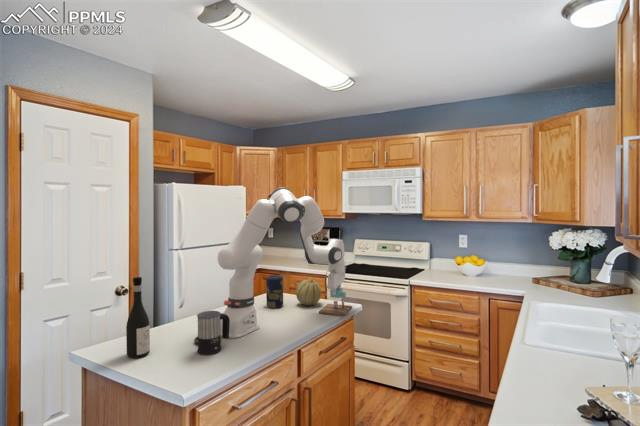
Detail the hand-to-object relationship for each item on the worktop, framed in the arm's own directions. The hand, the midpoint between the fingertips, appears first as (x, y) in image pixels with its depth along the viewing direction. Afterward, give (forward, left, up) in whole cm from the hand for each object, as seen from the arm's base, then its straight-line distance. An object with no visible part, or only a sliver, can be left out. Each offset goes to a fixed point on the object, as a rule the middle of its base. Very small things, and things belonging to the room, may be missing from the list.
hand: (336, 293), depth 201 cm
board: (0, +1, -10) cm, 10 cm away
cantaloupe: (+6, +19, -10) cm, 22 cm away
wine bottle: (-80, +56, -10) cm, 98 cm away
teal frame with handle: (0, -1, -2) cm, 2 cm away
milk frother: (-65, +36, -10) cm, 75 cm away
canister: (-3, +36, -10) cm, 37 cm away
